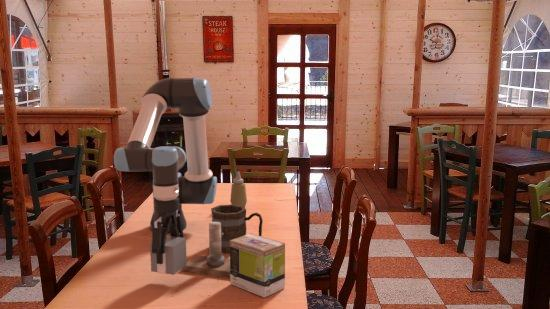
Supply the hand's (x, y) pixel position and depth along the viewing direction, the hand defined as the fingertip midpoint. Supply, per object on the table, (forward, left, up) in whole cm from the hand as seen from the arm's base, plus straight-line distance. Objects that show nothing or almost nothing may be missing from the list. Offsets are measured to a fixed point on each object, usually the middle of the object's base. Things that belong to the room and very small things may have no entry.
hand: (169, 267), depth 156 cm
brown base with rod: (+9, +15, -5) cm, 18 cm away
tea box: (+27, +7, -5) cm, 28 cm away
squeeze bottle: (-12, +86, -5) cm, 87 cm away
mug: (+8, +36, -5) cm, 37 cm away
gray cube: (0, 0, 0) cm, 0 cm away
